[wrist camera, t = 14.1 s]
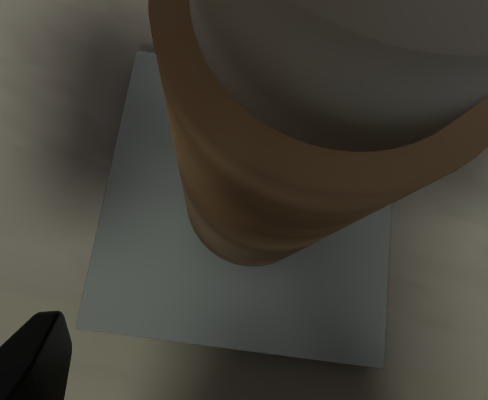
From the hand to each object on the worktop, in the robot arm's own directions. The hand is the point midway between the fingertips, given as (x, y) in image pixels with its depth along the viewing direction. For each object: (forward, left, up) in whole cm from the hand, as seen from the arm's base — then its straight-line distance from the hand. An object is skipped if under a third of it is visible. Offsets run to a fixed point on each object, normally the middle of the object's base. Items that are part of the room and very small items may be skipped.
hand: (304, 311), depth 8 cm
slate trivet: (+1, -4, -8) cm, 9 cm away
